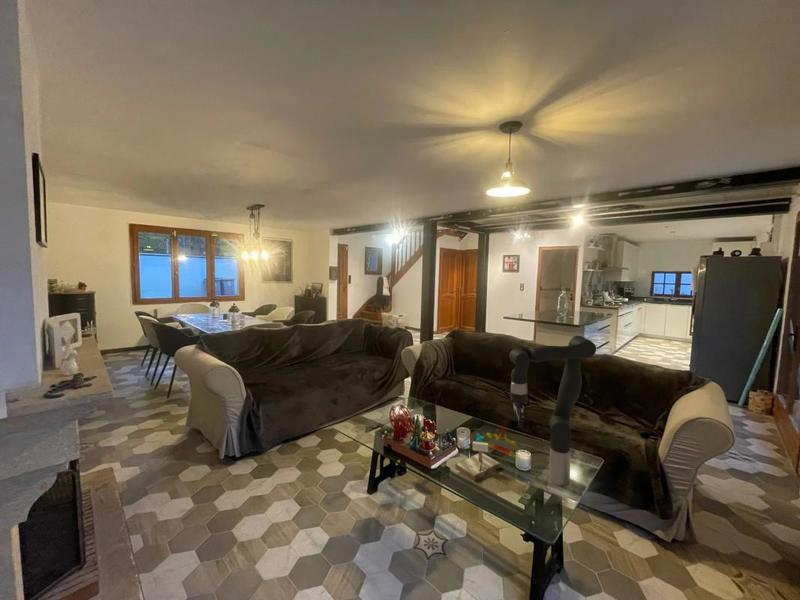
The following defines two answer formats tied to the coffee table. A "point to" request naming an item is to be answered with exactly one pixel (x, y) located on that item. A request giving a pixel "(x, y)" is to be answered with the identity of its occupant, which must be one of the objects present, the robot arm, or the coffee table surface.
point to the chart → (496, 447)
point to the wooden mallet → (480, 450)
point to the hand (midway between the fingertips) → (518, 423)
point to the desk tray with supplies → (477, 466)
